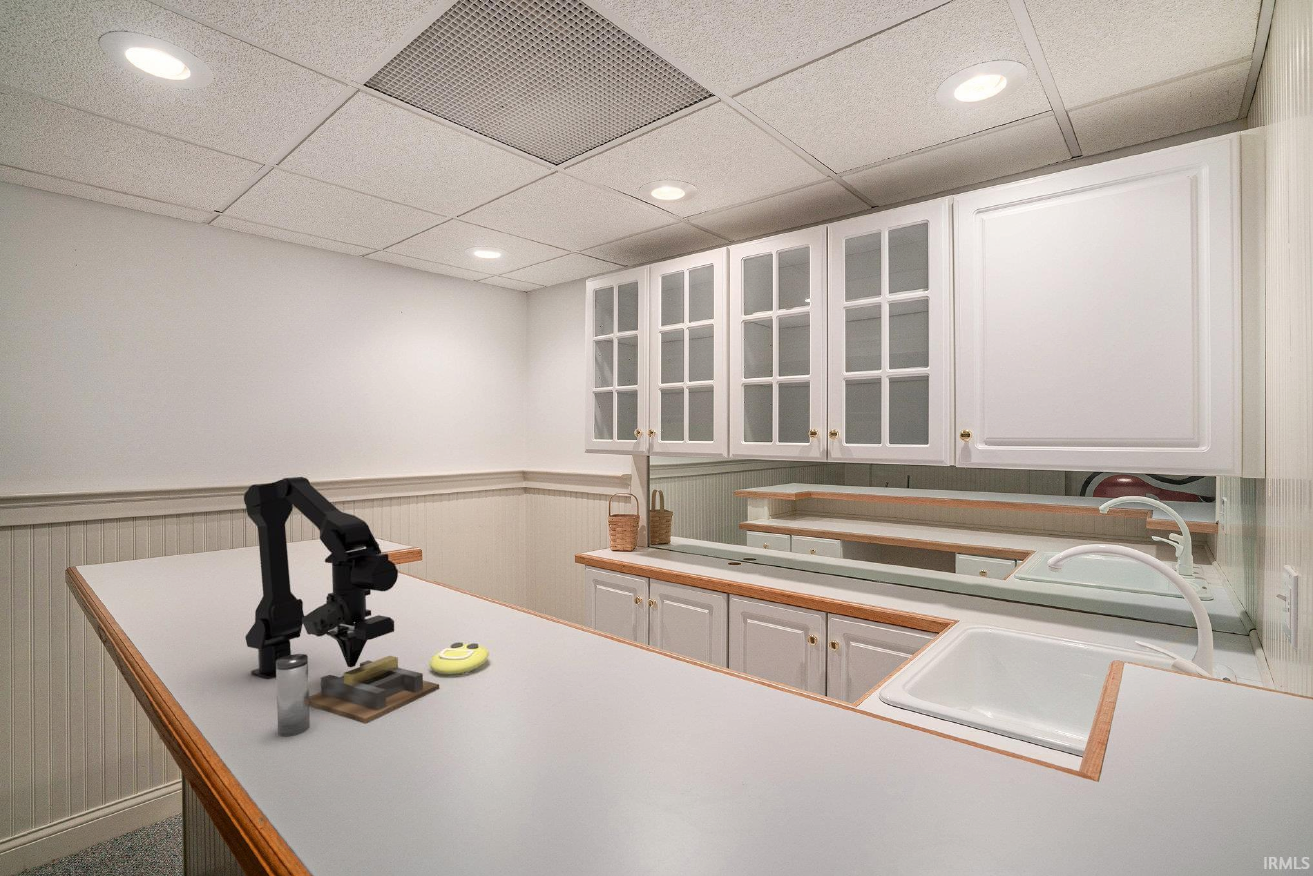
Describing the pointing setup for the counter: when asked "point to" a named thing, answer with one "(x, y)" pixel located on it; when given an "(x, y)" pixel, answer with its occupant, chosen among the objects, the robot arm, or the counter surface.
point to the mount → (371, 694)
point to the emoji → (459, 658)
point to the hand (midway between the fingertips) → (351, 666)
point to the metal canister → (292, 694)
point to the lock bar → (370, 670)
